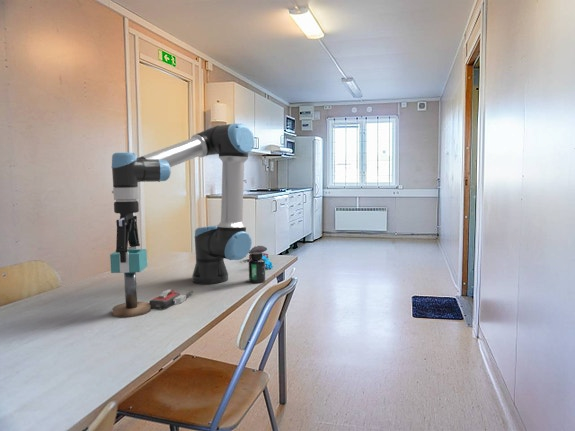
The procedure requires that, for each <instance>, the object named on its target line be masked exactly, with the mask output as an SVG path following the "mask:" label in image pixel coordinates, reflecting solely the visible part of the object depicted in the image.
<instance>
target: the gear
mask: <svg viewBox="0 0 575 431" xmlns="http://www.w3.org/2000/svg"><path fill="white" fill-rule="evenodd" d="M261 253H262V256H263V253H264V252H261ZM262 259H264V261H265V269H267V270H272V269H273V267H274V265H273V262H271V258H270V257H268V259H267V256H266V255H265V256H263V257H262Z"/></svg>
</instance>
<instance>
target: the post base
mask: <svg viewBox="0 0 575 431" xmlns="http://www.w3.org/2000/svg"><path fill="white" fill-rule="evenodd" d="M151 310H152V308H151V305H150V304H149V302H147V301H137V307H136V308H132V309H127V308H126V302H124V303H120V304H117V305H115V306H113V307H112V310H111V311H112V316H114V317H116V318H117V317H118V318H134V317H139V316H143V315H145V314H147V313H150V311H151Z"/></svg>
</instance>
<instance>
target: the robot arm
mask: <svg viewBox="0 0 575 431" xmlns="http://www.w3.org/2000/svg"><path fill="white" fill-rule="evenodd" d="M255 143H256V142H255V136H254V133H253V131H252V130H251V129H250V127H249V126H248V125H246V124H244V123H235V122H234V123H233V122H232V123H228V124H222V125H215V126H212V127H210V128H207V129H204V130H203V131H200V132H198V133H195V134H193V135H191V138H189V139H186V140H183V141H181V142H178V143H175V144H173V145H169V146H166V147H163V148H161V149H158V150H156V151H153V152H152V151H151V152H150V153H147V154H144V155H141V156H140V157H139V156H137V154H136V153H135V152H114V153H112V156H111V170H112V171H111V172H112V185H113V186H112V189H113V190H111V194H113V200H114V202H113V211H114V213H115V214H119V219H116V221H115V223H116V240H115V241H116V242H115V243H116V246H115V247H116V250H115V252H119V261H120V273H119V274H122V273H123V272H129V252H127V249H138V247H140V246H141V244H140V239H139V238H140V237H139V229H138V222H137V220H138V216H137V215H134V214H136V213H139V211H140V210H139V201H138V199H139V187H138V184H139V183H141V182H142V183H143V182H144V183H145V182H151V183H153V182H158V183H160V182H166V181H168V180H169V179H170V177H171V173H172V172H171V168H172V167H175V166H177V165H180V164H183V163H185V162H187V161H190V160H194V159H195V158H197V157H199V158H204V157H208V156H213V155H214V156H215V155H218V158H219V159H220V161H221V163H222V164H221V165H222V166H221V167H222V168H221V169H222V173H221V204H220V205H221V207H220V213H221V214H220V222H219V223H218V224H217V225H211V226H200V227H196V229H195V231H194V247H195V265H194V267H193V268H194V269H193V272H192V275H191V277H192V278H191V279H192V283H195V284H201V285H212V284H220V283H223V282H227V281H228V280H229V272H228V269H227V267H226V263H225V261H224V260H229V261H239V260H240V261H241V260H242V259H244V258H246V257H247V255H248V254H249V251H250V250H251V249H252V237H251V236H250V234H249V233H248V232H247V226H246V224H245V223H244V222H243V216H244V215H243V213H244V212H243V211H244V209H243V208H244V180H245V179H244V176H245V173H244V172H245V162H247V161H248V160H249V153H251V152H252V150H253V149H254V147H255ZM123 274H124V273H123Z"/></svg>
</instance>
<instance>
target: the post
mask: <svg viewBox="0 0 575 431" xmlns="http://www.w3.org/2000/svg"><path fill="white" fill-rule="evenodd" d="M123 278H124V297H125V303H126V308H127V309H132V308H136V307H137V302H138V291H137V290H138V289H137V272H133V273H123Z"/></svg>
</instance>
